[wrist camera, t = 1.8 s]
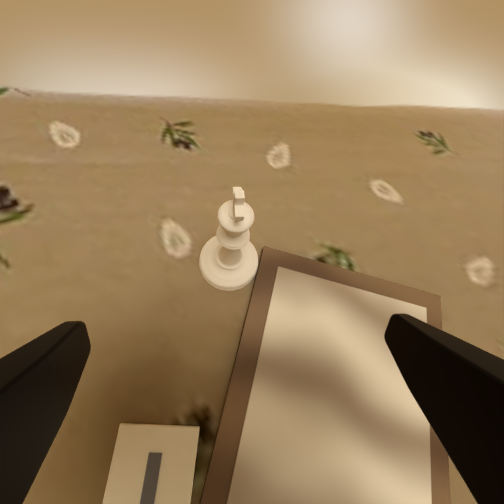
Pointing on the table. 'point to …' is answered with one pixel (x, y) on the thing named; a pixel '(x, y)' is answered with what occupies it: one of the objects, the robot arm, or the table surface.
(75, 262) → the table surface
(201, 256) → the chess piece
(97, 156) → the table surface
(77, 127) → the table surface
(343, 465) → the clipboard
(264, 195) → the table surface
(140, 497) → the plate
